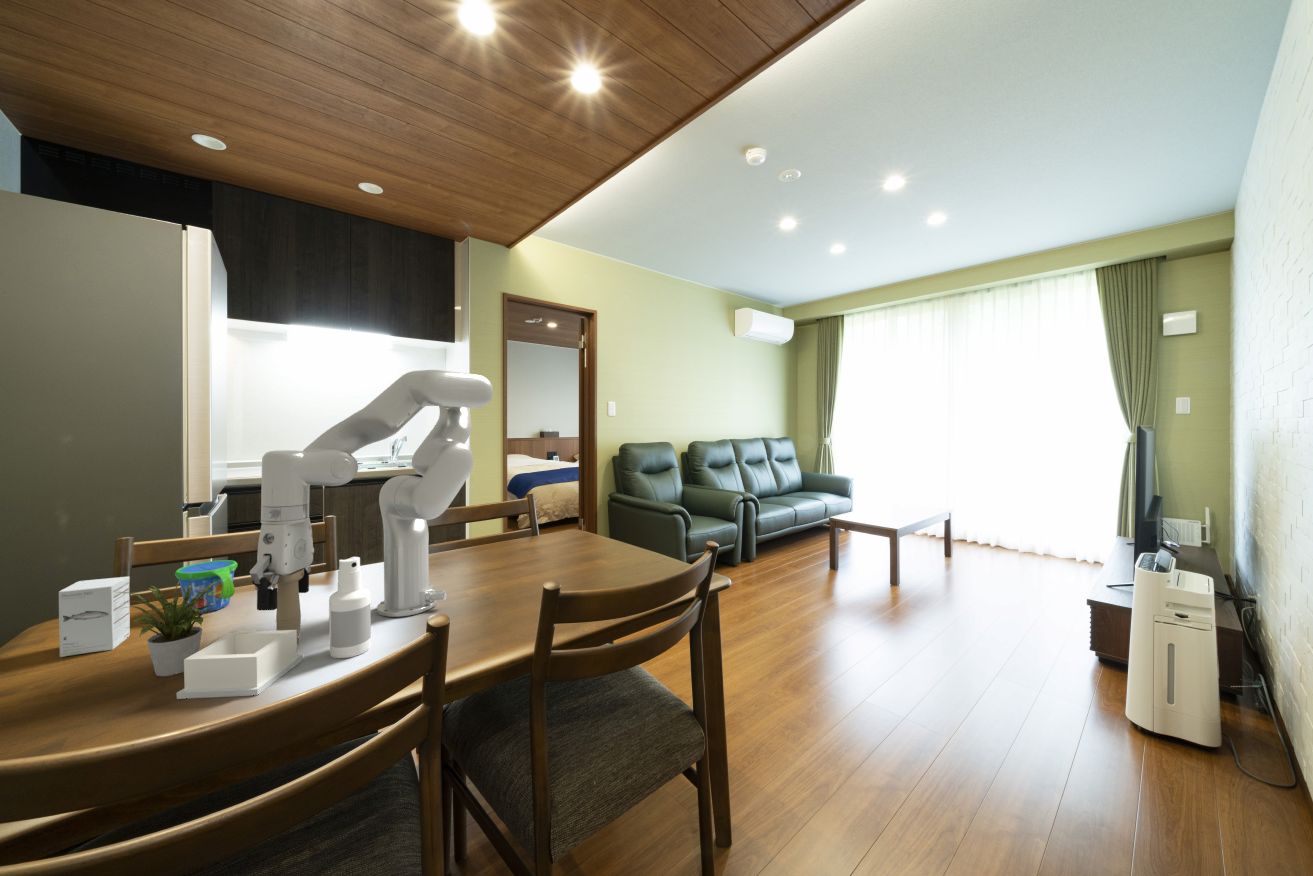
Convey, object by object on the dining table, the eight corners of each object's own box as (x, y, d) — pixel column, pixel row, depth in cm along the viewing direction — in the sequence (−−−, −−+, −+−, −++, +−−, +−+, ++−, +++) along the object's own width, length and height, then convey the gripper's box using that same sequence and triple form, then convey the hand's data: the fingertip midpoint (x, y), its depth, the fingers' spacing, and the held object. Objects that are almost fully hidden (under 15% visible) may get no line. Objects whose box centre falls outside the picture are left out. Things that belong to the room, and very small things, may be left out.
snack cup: (163, 610, 114) (162, 567, 114) (219, 595, 124) (218, 556, 123) (194, 623, 107) (193, 577, 107) (251, 606, 117) (251, 564, 116)
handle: (309, 637, 101) (308, 565, 100) (296, 652, 95) (295, 575, 94) (282, 640, 99) (280, 567, 99) (266, 655, 93) (265, 577, 93)
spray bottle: (340, 662, 91) (339, 566, 90) (322, 653, 94) (321, 560, 94) (378, 648, 96) (377, 557, 96) (359, 639, 100) (358, 552, 99)
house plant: (83, 701, 78) (80, 599, 77) (134, 661, 90) (131, 573, 90) (199, 682, 83) (197, 587, 83) (231, 647, 96) (230, 565, 95)
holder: (302, 659, 92) (302, 627, 91) (257, 695, 80) (256, 659, 80) (233, 662, 90) (232, 630, 90) (176, 698, 78) (175, 662, 78)
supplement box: (57, 658, 91) (55, 591, 91) (80, 642, 98) (78, 579, 97) (113, 650, 95) (111, 585, 94) (132, 635, 101) (130, 574, 101)
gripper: (276, 521, 88) (275, 617, 88) (330, 507, 105) (329, 586, 105) (231, 521, 87) (229, 617, 87) (293, 506, 104) (291, 586, 104)
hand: (284, 600), depth 96 cm, fingers open, 9 cm apart
